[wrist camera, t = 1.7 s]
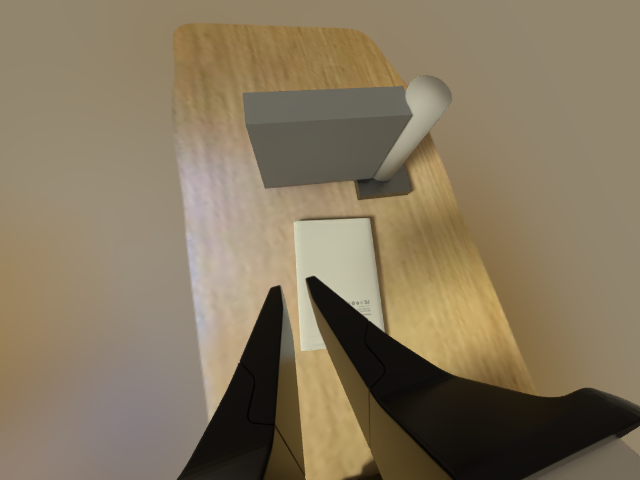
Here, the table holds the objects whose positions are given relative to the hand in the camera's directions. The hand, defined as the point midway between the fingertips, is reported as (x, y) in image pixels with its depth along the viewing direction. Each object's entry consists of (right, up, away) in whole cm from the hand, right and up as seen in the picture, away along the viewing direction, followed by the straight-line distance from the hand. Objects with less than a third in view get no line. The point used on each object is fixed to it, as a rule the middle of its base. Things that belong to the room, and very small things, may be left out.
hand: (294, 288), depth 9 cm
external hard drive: (+3, -2, +15) cm, 15 cm away
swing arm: (+2, +9, +15) cm, 18 cm away
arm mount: (+8, +10, +17) cm, 21 cm away
